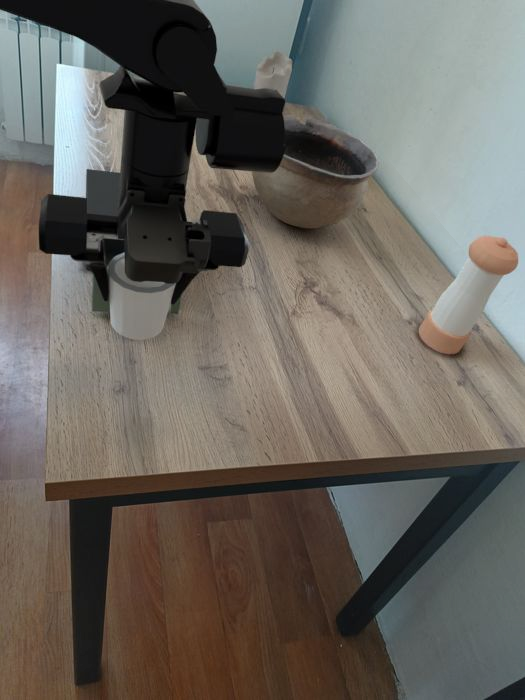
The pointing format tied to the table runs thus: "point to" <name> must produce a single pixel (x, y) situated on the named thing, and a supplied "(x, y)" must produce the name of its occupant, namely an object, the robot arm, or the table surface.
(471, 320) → the salt shaker
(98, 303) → the drawer
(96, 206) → the cabinet
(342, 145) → the ceramic bowl
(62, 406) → the table surface
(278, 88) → the candle
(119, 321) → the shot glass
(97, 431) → the table surface
